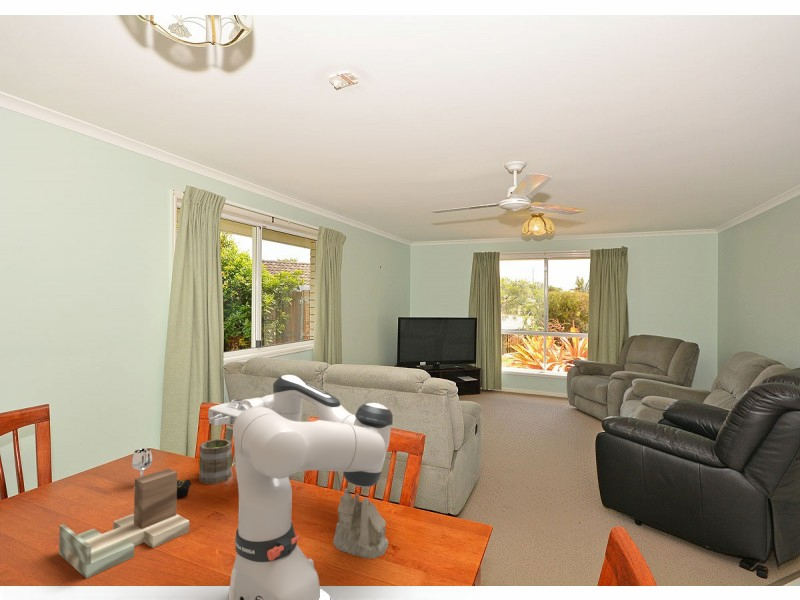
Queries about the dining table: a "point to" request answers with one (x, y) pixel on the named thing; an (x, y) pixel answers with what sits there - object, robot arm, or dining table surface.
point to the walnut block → (155, 498)
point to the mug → (215, 461)
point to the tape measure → (183, 487)
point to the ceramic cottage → (360, 528)
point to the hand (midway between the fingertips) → (211, 422)
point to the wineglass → (142, 460)
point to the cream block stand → (115, 542)
